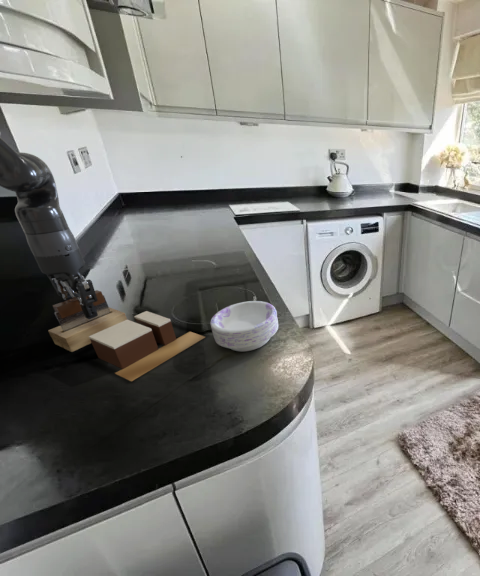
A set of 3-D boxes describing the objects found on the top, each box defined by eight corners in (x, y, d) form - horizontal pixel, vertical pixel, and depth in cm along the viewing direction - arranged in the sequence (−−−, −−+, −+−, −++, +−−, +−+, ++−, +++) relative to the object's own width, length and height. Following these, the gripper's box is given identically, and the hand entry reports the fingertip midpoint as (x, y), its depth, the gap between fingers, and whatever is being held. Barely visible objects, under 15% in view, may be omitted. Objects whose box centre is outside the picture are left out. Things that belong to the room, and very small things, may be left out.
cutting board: (78, 358, 75) (77, 355, 75) (155, 321, 90) (154, 318, 89) (132, 385, 68) (131, 381, 67) (206, 340, 83) (205, 336, 82)
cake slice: (141, 336, 82) (134, 316, 79) (153, 330, 84) (146, 310, 82) (165, 345, 79) (158, 325, 76) (176, 339, 81) (170, 319, 78)
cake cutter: (74, 349, 78) (54, 308, 73) (69, 347, 79) (49, 306, 74) (119, 329, 86) (103, 290, 81) (114, 327, 87) (99, 289, 82)
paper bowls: (218, 331, 86) (212, 305, 83) (277, 320, 92) (273, 296, 88) (214, 365, 74) (207, 337, 70) (283, 351, 79) (279, 324, 76)
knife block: (73, 355, 76) (65, 338, 74) (56, 347, 79) (47, 330, 76) (131, 328, 87) (124, 312, 84) (114, 322, 89) (107, 306, 87)
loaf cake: (98, 358, 74) (88, 336, 71) (134, 339, 80) (127, 319, 78) (122, 369, 71) (113, 347, 68) (158, 349, 77) (151, 328, 75)
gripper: (17, 249, 72) (50, 314, 79) (52, 260, 66) (84, 329, 74) (59, 240, 78) (86, 301, 85) (94, 249, 73) (119, 314, 80)
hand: (85, 314), depth 80 cm, fingers open, 5 cm apart
